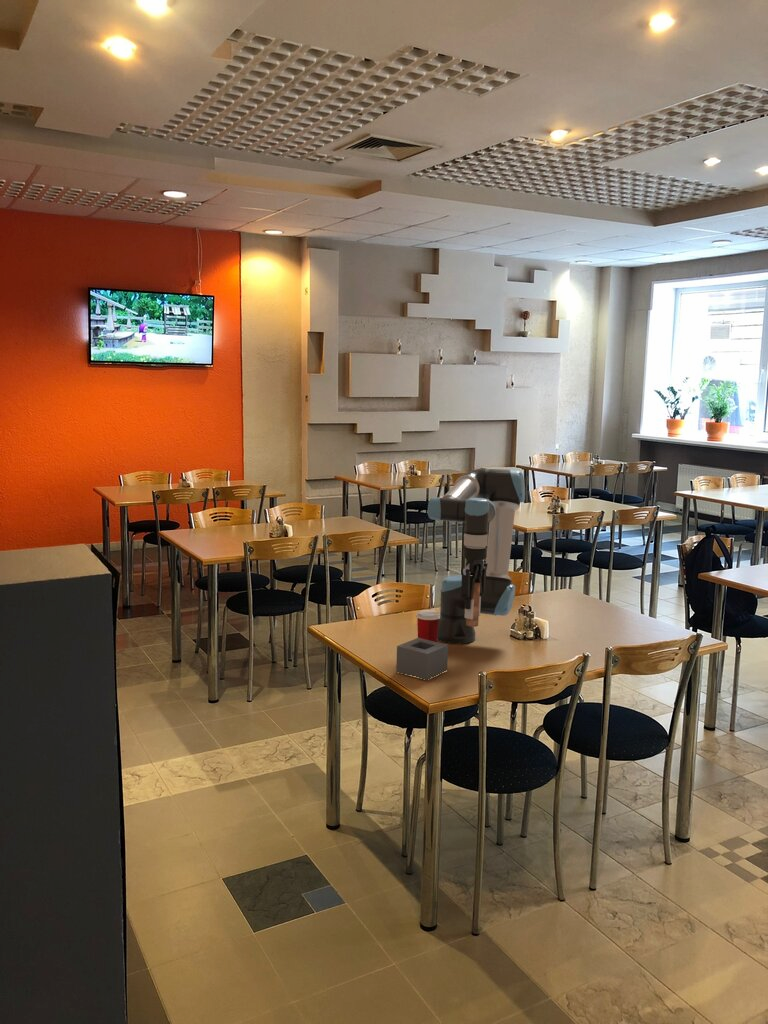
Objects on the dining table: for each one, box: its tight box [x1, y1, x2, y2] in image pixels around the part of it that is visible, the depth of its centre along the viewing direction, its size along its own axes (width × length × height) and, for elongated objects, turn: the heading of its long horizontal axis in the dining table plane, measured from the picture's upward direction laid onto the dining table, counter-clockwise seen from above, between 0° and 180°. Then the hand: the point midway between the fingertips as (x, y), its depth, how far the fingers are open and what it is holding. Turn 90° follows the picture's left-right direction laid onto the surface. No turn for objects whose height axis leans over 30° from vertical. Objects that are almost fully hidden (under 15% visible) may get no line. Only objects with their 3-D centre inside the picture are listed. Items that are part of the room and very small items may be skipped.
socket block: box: [395, 637, 449, 681], centre depth 279 cm, size 12×12×9 cm
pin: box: [466, 582, 480, 628], centre depth 278 cm, size 4×4×14 cm
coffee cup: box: [415, 609, 440, 642], centre depth 297 cm, size 8×8×15 cm
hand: (472, 616), depth 279 cm, fingers closed on pin, 4 cm apart
